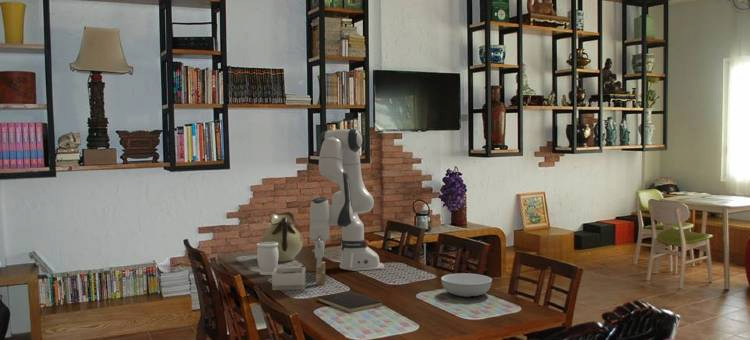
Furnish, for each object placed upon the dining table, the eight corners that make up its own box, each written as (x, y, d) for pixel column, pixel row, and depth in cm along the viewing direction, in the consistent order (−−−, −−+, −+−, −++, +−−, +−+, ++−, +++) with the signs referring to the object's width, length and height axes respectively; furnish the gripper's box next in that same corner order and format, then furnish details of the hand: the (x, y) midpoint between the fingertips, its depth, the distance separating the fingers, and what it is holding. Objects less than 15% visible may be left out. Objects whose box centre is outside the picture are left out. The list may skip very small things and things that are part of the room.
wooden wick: (325, 283, 296) (325, 261, 296) (325, 284, 294) (325, 262, 294) (316, 283, 296) (316, 261, 296) (316, 284, 294) (316, 262, 294)
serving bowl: (460, 303, 259) (460, 286, 259) (431, 292, 278) (431, 276, 277) (502, 296, 269) (502, 280, 268) (472, 286, 287) (471, 271, 287)
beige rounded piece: (282, 254, 372) (281, 210, 370) (313, 258, 358) (312, 213, 356) (253, 261, 354) (252, 215, 352) (285, 265, 340) (284, 218, 338)
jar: (274, 276, 313) (273, 245, 312) (254, 275, 315) (253, 244, 314) (281, 271, 324) (281, 241, 323) (262, 271, 326) (261, 241, 325)
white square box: (305, 282, 300) (305, 267, 299) (304, 289, 286) (304, 273, 285) (274, 283, 299) (274, 267, 298) (272, 290, 285) (271, 274, 285)
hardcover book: (349, 314, 247) (349, 308, 247) (317, 302, 266) (317, 296, 266) (383, 307, 257) (383, 301, 257) (350, 296, 275) (350, 290, 275)
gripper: (326, 237, 284) (326, 269, 284) (326, 231, 304) (326, 261, 305) (311, 237, 283) (311, 269, 284) (313, 231, 304) (313, 261, 304)
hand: (319, 265), depth 294 cm, fingers open, 8 cm apart
